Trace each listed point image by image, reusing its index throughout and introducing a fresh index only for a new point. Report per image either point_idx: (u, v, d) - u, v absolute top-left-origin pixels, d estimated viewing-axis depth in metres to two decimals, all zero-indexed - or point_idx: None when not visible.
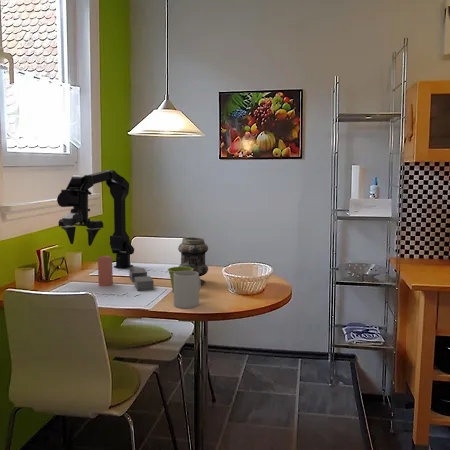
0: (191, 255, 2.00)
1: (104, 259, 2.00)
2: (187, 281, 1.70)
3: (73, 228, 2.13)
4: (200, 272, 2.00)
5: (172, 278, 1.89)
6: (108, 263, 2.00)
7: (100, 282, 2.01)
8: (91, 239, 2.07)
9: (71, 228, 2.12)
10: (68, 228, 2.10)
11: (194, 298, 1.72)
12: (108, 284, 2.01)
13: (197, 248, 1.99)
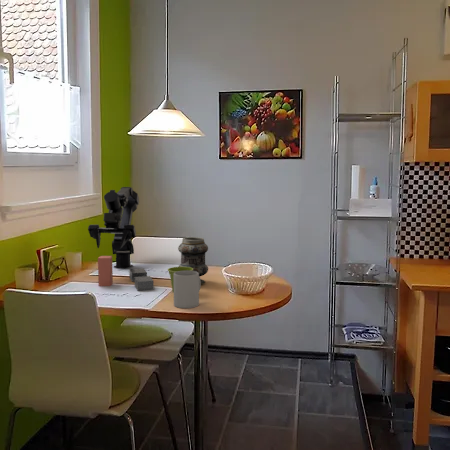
0: (191, 255, 2.00)
1: (104, 259, 2.00)
2: (187, 281, 1.70)
3: (99, 237, 2.14)
4: (200, 272, 2.00)
5: (172, 278, 1.89)
6: (108, 263, 2.00)
7: (100, 282, 2.01)
8: (123, 242, 2.11)
9: (99, 235, 2.13)
10: (98, 232, 2.12)
11: (194, 298, 1.72)
12: (108, 284, 2.01)
13: (197, 248, 1.99)
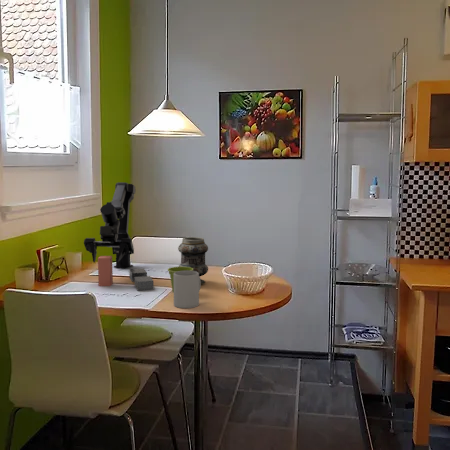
0: (191, 255, 2.00)
1: (104, 259, 2.00)
2: (187, 281, 1.70)
3: (95, 251, 2.08)
4: (200, 272, 2.00)
5: (172, 278, 1.89)
6: (108, 263, 2.00)
7: (100, 282, 2.01)
8: (120, 256, 2.04)
9: (95, 249, 2.07)
10: (94, 246, 2.06)
11: (194, 298, 1.72)
12: (108, 284, 2.01)
13: (197, 248, 1.99)
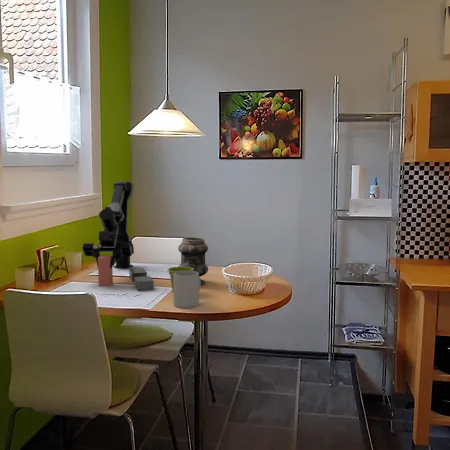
0: (191, 255, 2.00)
1: (104, 259, 2.00)
2: (187, 281, 1.70)
3: None
4: (200, 272, 2.00)
5: (172, 278, 1.89)
6: (108, 263, 2.00)
7: (100, 282, 2.01)
8: (114, 261, 2.02)
9: (99, 254, 2.05)
10: (98, 251, 2.04)
11: (194, 298, 1.72)
12: (108, 284, 2.01)
13: (197, 248, 1.99)
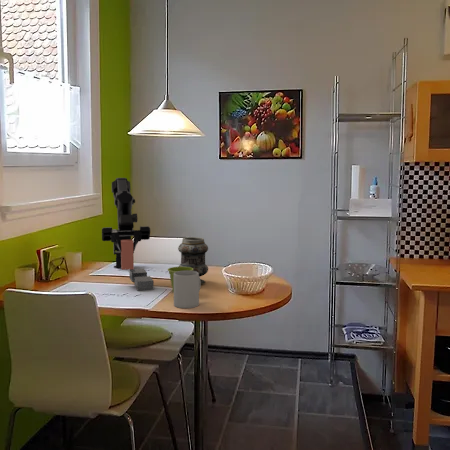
0: (191, 255, 2.00)
1: (128, 242, 2.00)
2: (187, 281, 1.70)
3: None
4: (200, 272, 2.00)
5: (172, 278, 1.89)
6: (132, 246, 2.00)
7: (123, 266, 2.00)
8: (135, 245, 2.03)
9: None
10: (118, 235, 2.03)
11: (194, 298, 1.72)
12: (131, 267, 2.01)
13: (197, 248, 1.99)
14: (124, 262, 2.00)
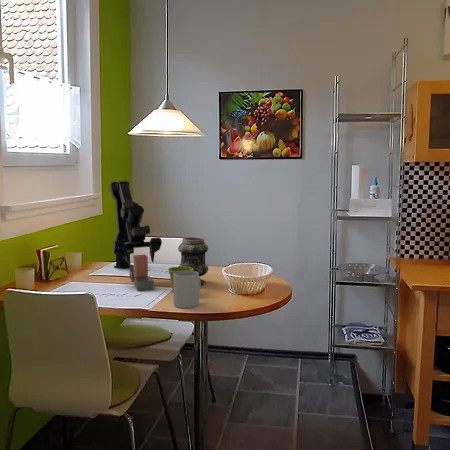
0: (191, 255, 2.00)
1: (142, 258, 2.02)
2: (187, 281, 1.70)
3: None
4: (200, 272, 2.00)
5: (172, 278, 1.89)
6: (146, 262, 2.03)
7: None
8: None
9: None
10: None
11: (194, 298, 1.72)
12: None
13: (197, 248, 1.99)
14: None
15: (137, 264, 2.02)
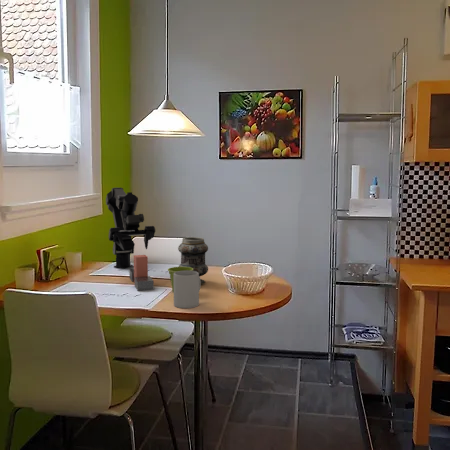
0: (191, 255, 2.00)
1: (142, 258, 2.02)
2: (187, 281, 1.70)
3: None
4: (200, 272, 2.00)
5: (172, 278, 1.89)
6: (146, 262, 2.03)
7: None
8: (147, 243, 2.15)
9: None
10: None
11: (194, 298, 1.72)
12: None
13: (197, 248, 1.99)
14: None
15: (137, 264, 2.02)
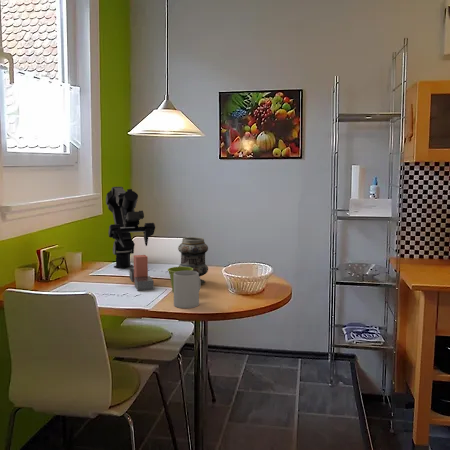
0: (191, 255, 2.00)
1: (142, 258, 2.02)
2: (187, 281, 1.70)
3: None
4: (200, 272, 2.00)
5: (172, 278, 1.89)
6: (146, 262, 2.03)
7: None
8: (147, 240, 2.14)
9: None
10: None
11: (194, 298, 1.72)
12: None
13: (197, 248, 1.99)
14: None
15: (137, 264, 2.02)
